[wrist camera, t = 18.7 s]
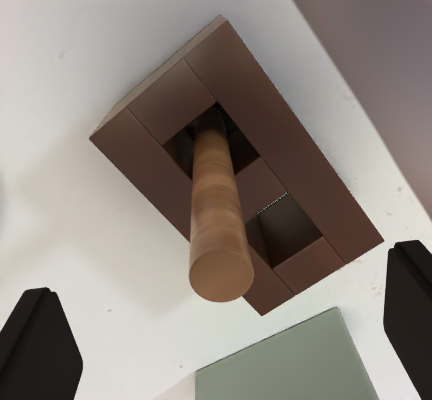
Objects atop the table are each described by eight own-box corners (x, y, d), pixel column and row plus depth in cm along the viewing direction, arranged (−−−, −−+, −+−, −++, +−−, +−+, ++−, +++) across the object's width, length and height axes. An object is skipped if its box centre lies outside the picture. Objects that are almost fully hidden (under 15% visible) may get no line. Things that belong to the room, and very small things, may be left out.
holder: (220, 14, 29) (226, 19, 21) (346, 191, 35) (385, 241, 28) (113, 106, 31) (87, 138, 24) (249, 256, 37) (261, 317, 30)
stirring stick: (192, 108, 31) (184, 254, 13) (221, 104, 31) (251, 245, 13) (196, 136, 32) (194, 307, 14) (224, 132, 32) (256, 299, 14)
